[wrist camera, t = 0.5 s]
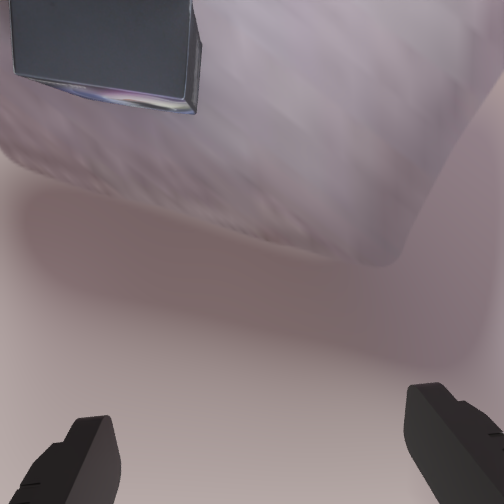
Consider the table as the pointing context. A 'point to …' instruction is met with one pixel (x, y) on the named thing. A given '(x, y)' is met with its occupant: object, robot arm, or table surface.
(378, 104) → the table surface
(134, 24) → the small box
